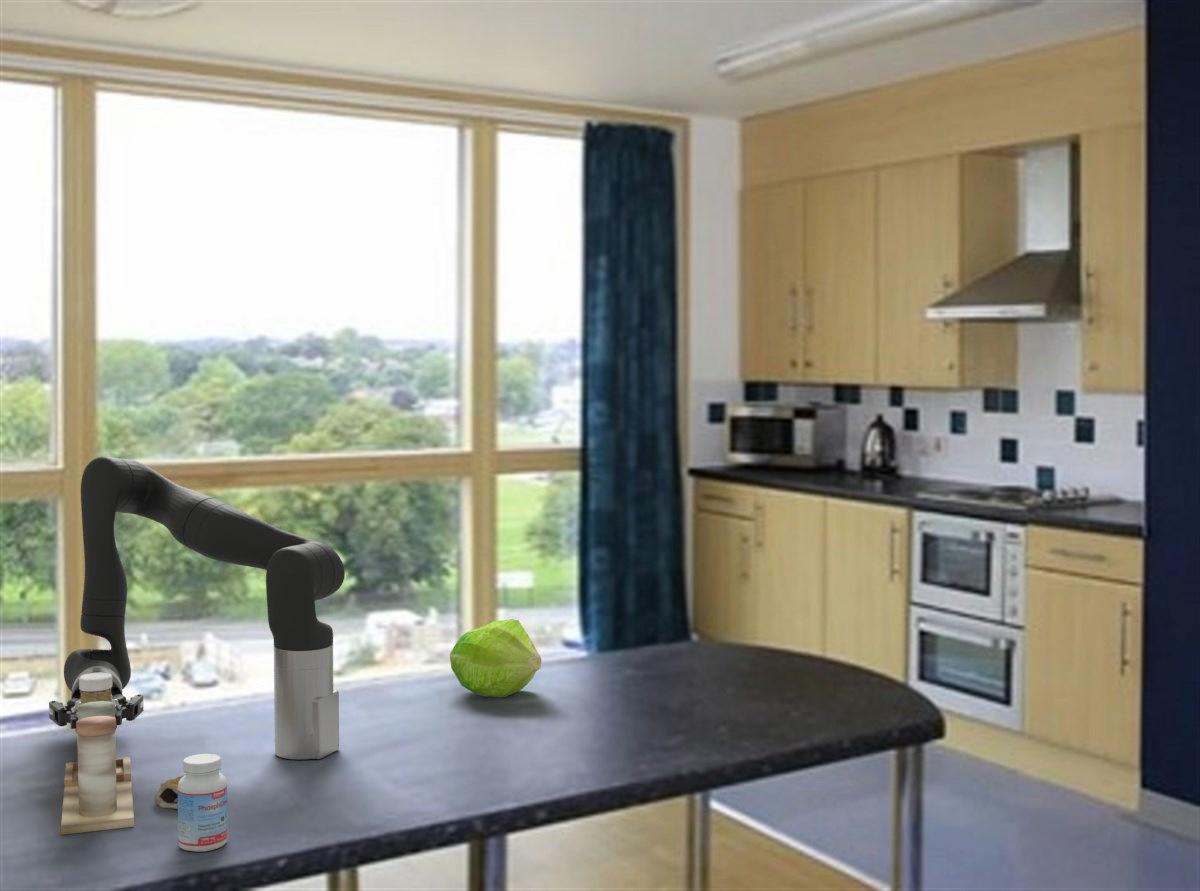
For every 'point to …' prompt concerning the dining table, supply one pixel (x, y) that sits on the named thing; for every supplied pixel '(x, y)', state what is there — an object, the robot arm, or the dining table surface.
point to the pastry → (168, 794)
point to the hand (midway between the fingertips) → (96, 723)
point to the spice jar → (95, 687)
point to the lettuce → (495, 659)
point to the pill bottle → (202, 804)
